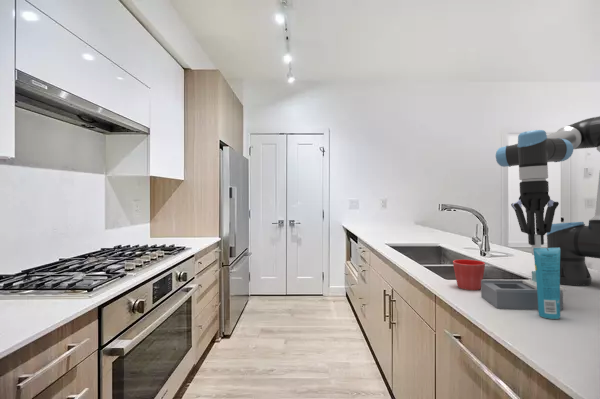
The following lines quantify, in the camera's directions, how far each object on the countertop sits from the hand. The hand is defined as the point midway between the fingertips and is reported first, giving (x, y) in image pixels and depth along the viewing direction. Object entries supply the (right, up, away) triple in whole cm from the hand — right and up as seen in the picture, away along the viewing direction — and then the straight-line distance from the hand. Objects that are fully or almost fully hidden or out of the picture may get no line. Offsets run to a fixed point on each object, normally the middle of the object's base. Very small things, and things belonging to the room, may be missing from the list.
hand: (536, 255), depth 108 cm
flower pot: (-11, -16, +20) cm, 28 cm away
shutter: (+2, -10, -1) cm, 10 cm away
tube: (-5, -15, -12) cm, 20 cm away
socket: (-5, -15, 0) cm, 16 cm away
